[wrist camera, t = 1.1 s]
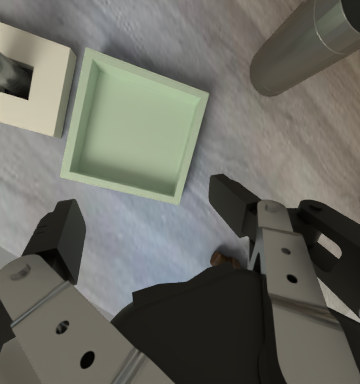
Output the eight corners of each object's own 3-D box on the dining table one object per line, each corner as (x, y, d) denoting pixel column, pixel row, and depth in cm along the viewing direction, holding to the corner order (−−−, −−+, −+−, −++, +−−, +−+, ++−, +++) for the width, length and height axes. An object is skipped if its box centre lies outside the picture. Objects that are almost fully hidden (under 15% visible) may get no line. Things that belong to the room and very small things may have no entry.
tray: (95, 64, 31) (85, 47, 26) (201, 102, 35) (209, 93, 30) (72, 175, 33) (59, 177, 28) (175, 200, 37) (178, 205, 32)
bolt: (210, 247, 42) (256, 278, 44) (202, 267, 39) (251, 299, 42) (226, 246, 37) (277, 281, 39) (217, 270, 34) (272, 306, 37)
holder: (-19, 23, 28) (-35, 9, 25) (76, 57, 30) (70, 48, 28) (-32, 113, 29) (-49, 108, 27) (60, 138, 32) (53, 136, 29)
